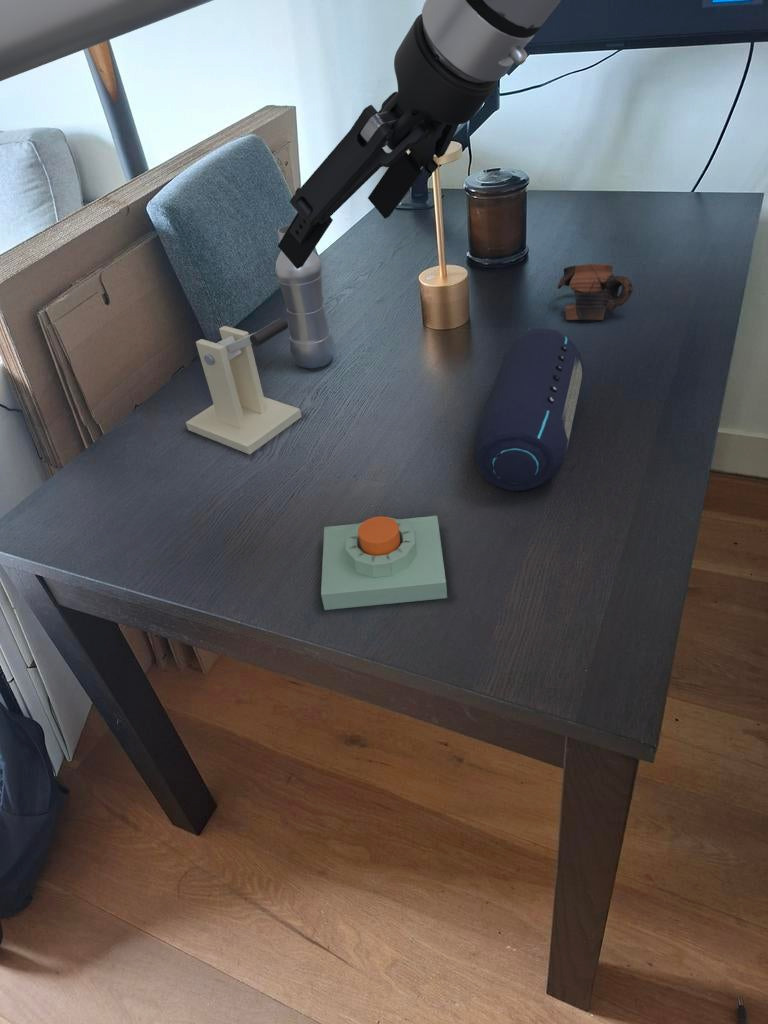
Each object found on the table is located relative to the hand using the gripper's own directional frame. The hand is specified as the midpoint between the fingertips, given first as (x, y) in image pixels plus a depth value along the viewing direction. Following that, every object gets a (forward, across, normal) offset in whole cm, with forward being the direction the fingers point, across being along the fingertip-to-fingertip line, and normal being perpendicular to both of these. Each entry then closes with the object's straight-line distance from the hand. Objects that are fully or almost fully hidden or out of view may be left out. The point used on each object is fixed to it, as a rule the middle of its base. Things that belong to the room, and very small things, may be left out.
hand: (336, 230), depth 73 cm
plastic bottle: (+37, +18, -3) cm, 41 cm away
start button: (+10, -13, -26) cm, 31 cm away
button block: (+12, -13, -28) cm, 34 cm away
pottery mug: (+17, +50, -24) cm, 58 cm away
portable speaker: (+11, +14, -30) cm, 35 cm away
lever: (+24, 0, +1) cm, 24 cm away
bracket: (+36, 0, -4) cm, 36 cm away
